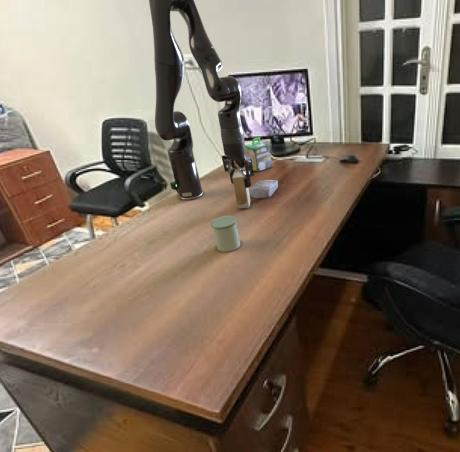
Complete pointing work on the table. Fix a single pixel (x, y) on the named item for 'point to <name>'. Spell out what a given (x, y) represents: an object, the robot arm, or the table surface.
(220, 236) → the canister
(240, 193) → the cosmetic box
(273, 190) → the stone block
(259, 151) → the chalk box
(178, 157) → the robot arm
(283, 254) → the table surface
